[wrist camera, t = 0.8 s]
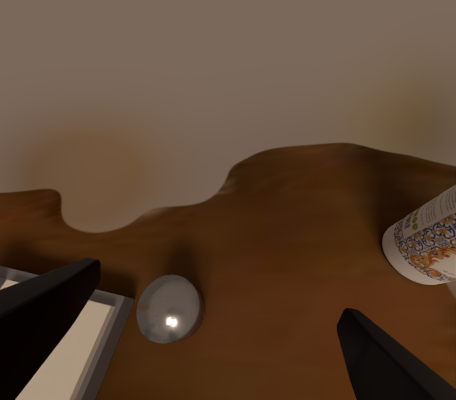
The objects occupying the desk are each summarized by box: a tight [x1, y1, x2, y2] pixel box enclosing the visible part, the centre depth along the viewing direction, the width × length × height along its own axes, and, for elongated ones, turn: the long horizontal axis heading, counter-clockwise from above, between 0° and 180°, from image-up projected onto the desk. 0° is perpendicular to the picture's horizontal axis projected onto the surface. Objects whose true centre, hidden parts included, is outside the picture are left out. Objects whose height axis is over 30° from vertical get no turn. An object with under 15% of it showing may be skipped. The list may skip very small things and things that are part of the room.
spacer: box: [137, 275, 205, 343], centre depth 19 cm, size 5×5×5 cm
